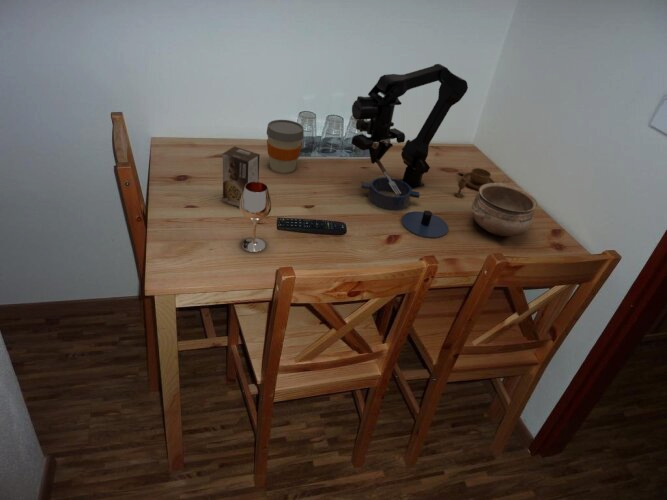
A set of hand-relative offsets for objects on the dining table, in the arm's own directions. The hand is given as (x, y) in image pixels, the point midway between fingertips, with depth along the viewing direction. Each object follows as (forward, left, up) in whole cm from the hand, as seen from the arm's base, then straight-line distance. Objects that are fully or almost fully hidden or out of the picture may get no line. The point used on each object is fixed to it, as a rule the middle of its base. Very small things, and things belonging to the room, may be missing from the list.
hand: (374, 162), depth 169 cm
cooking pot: (-21, +39, -10) cm, 45 cm away
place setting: (-37, +13, -10) cm, 41 cm away
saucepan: (0, +9, -10) cm, 14 cm away
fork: (0, +6, -1) cm, 6 cm away
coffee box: (+44, -11, -10) cm, 46 cm away
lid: (0, +26, -9) cm, 28 cm away
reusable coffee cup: (+19, -26, -10) cm, 33 cm away
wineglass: (+52, +11, -10) cm, 54 cm away
